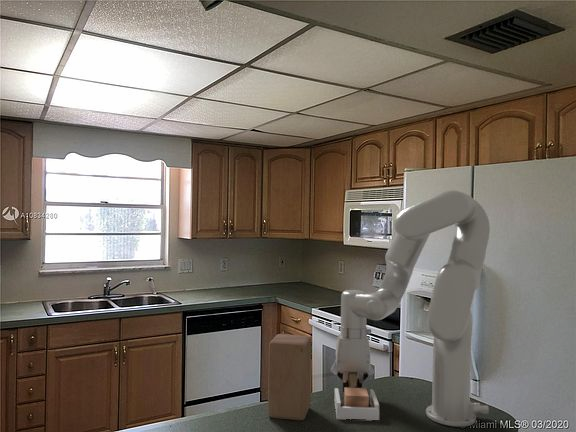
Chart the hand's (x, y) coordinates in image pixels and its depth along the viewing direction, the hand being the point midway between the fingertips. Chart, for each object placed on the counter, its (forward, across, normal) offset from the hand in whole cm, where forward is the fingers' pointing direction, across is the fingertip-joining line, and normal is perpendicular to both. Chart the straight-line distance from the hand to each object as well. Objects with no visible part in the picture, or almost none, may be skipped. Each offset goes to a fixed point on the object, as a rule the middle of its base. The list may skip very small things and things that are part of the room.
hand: (352, 394), depth 139 cm
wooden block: (+1, +18, +13) cm, 22 cm away
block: (+1, 0, +6) cm, 6 cm away
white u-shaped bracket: (+1, 0, +11) cm, 11 cm away
